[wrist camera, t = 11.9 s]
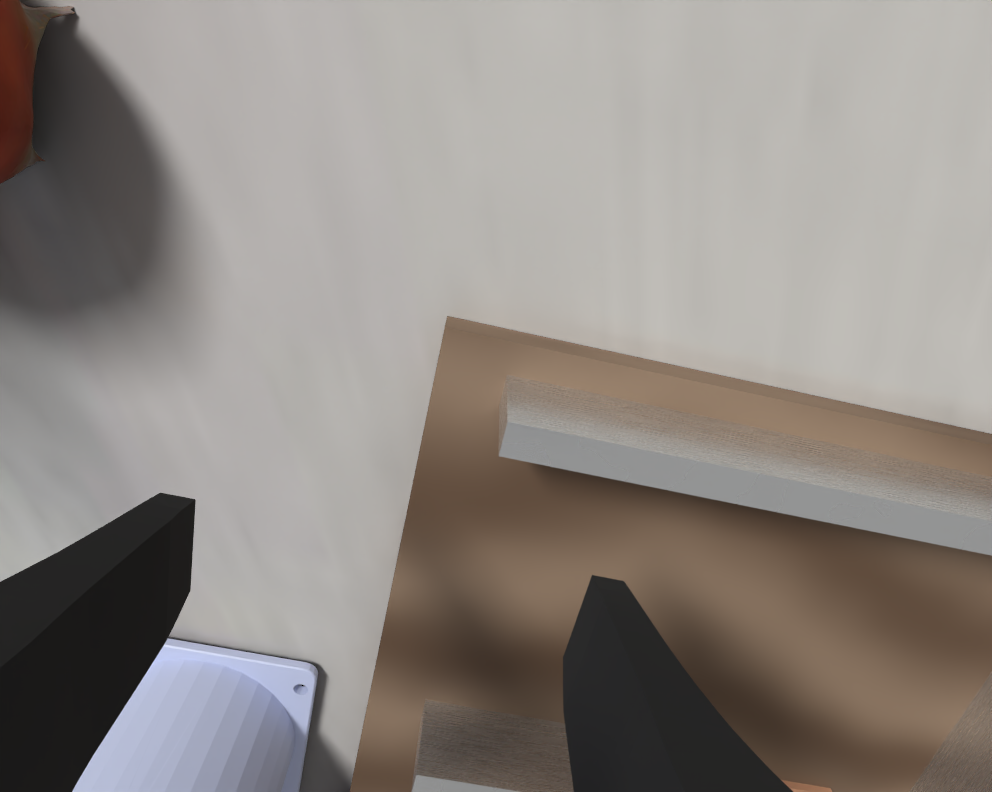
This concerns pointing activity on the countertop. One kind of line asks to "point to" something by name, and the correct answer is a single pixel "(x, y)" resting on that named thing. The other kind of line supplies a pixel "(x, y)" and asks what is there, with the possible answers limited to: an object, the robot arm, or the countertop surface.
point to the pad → (805, 787)
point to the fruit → (19, 81)
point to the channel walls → (725, 477)
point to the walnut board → (675, 577)
